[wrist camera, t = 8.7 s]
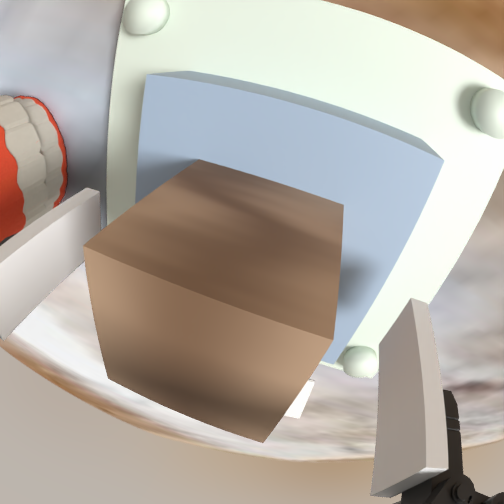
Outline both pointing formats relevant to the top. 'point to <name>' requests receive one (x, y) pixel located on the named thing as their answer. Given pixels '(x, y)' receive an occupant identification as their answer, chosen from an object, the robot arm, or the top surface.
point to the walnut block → (218, 295)
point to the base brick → (296, 166)
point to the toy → (28, 163)
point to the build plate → (336, 93)
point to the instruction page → (300, 400)
